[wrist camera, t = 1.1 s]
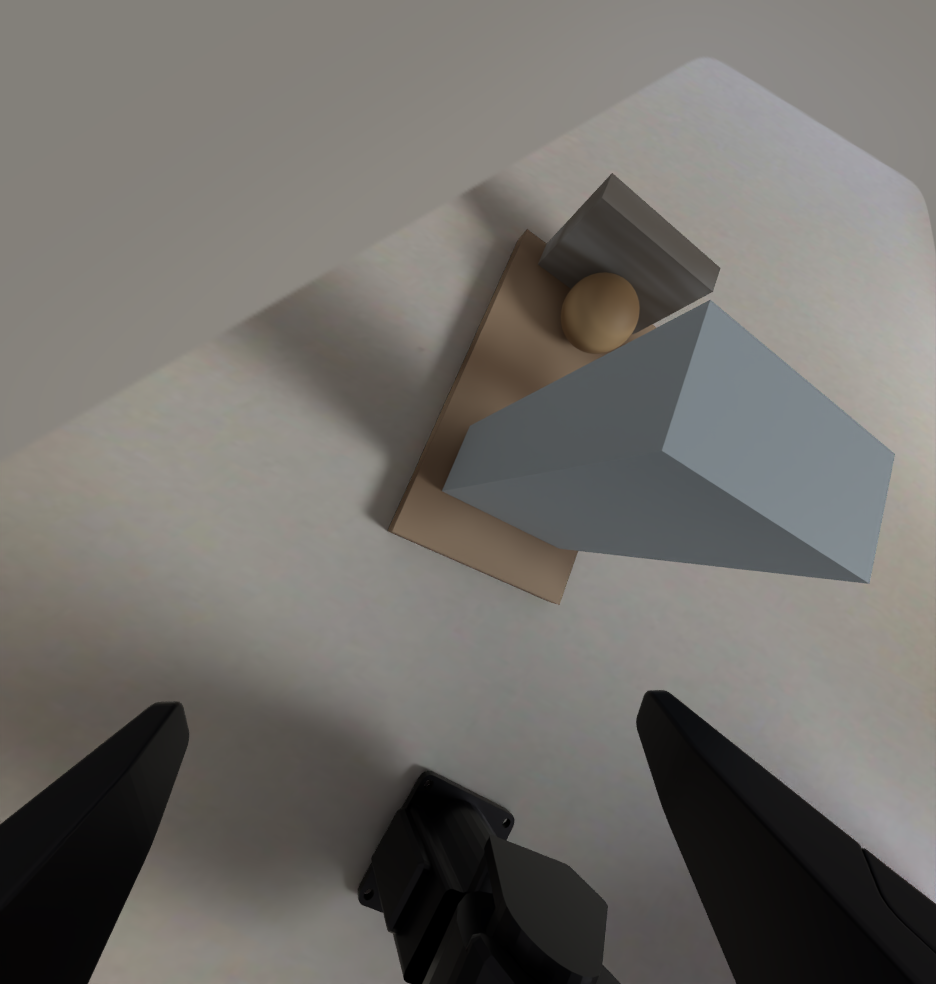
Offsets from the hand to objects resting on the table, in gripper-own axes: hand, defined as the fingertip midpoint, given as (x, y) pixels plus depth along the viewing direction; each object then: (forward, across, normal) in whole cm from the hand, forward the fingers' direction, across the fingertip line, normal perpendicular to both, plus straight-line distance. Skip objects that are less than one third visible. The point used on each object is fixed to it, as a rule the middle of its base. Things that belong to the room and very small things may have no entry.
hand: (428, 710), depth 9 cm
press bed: (+20, -7, -1) cm, 21 cm away
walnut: (+22, -9, -6) cm, 25 cm away
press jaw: (+16, -6, +2) cm, 17 cm away
